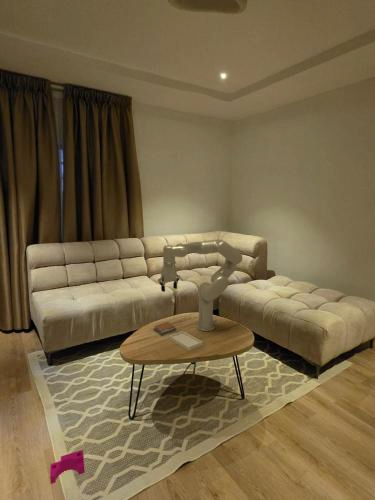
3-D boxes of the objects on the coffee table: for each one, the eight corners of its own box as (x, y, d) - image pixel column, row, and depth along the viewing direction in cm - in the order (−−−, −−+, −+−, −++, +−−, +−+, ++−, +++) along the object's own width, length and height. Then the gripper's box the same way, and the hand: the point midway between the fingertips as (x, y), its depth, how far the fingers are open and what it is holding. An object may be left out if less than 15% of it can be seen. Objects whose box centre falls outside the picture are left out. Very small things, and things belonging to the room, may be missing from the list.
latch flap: (167, 322, 206) (167, 321, 205) (174, 327, 200) (174, 326, 200) (154, 327, 199) (154, 325, 199) (161, 332, 193) (161, 330, 193)
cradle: (182, 334, 195) (182, 330, 195) (202, 345, 181) (202, 341, 180) (168, 338, 188) (168, 335, 188) (188, 350, 174) (188, 347, 173)
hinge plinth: (168, 326, 207) (168, 322, 206) (176, 331, 199) (176, 326, 199) (153, 331, 199) (153, 326, 199) (161, 336, 192) (161, 331, 191)
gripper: (176, 261, 201) (176, 286, 204) (154, 265, 190) (155, 291, 193) (183, 263, 195) (183, 288, 198) (161, 267, 184) (161, 294, 187)
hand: (169, 289), depth 196 cm, fingers open, 9 cm apart
